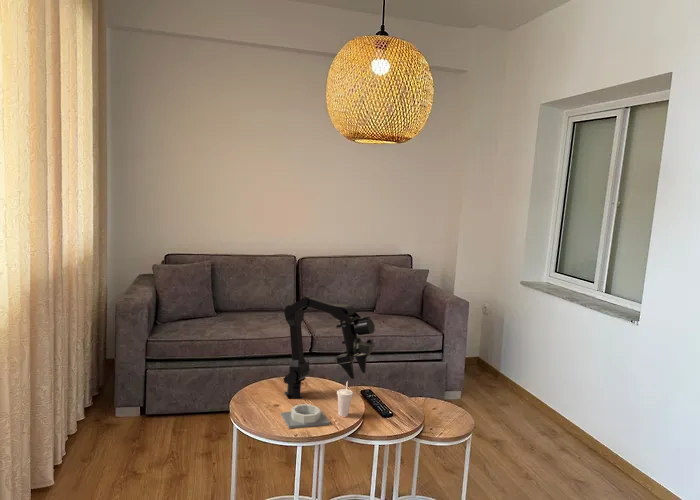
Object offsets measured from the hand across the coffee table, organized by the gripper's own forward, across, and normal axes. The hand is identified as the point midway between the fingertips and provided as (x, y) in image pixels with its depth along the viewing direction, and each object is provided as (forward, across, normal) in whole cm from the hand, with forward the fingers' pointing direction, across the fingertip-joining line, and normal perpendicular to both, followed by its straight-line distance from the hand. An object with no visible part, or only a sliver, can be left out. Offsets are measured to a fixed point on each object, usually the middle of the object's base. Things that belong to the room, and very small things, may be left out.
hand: (358, 375), depth 204 cm
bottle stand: (+11, -16, +18) cm, 27 cm away
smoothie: (+14, -3, +9) cm, 17 cm away
